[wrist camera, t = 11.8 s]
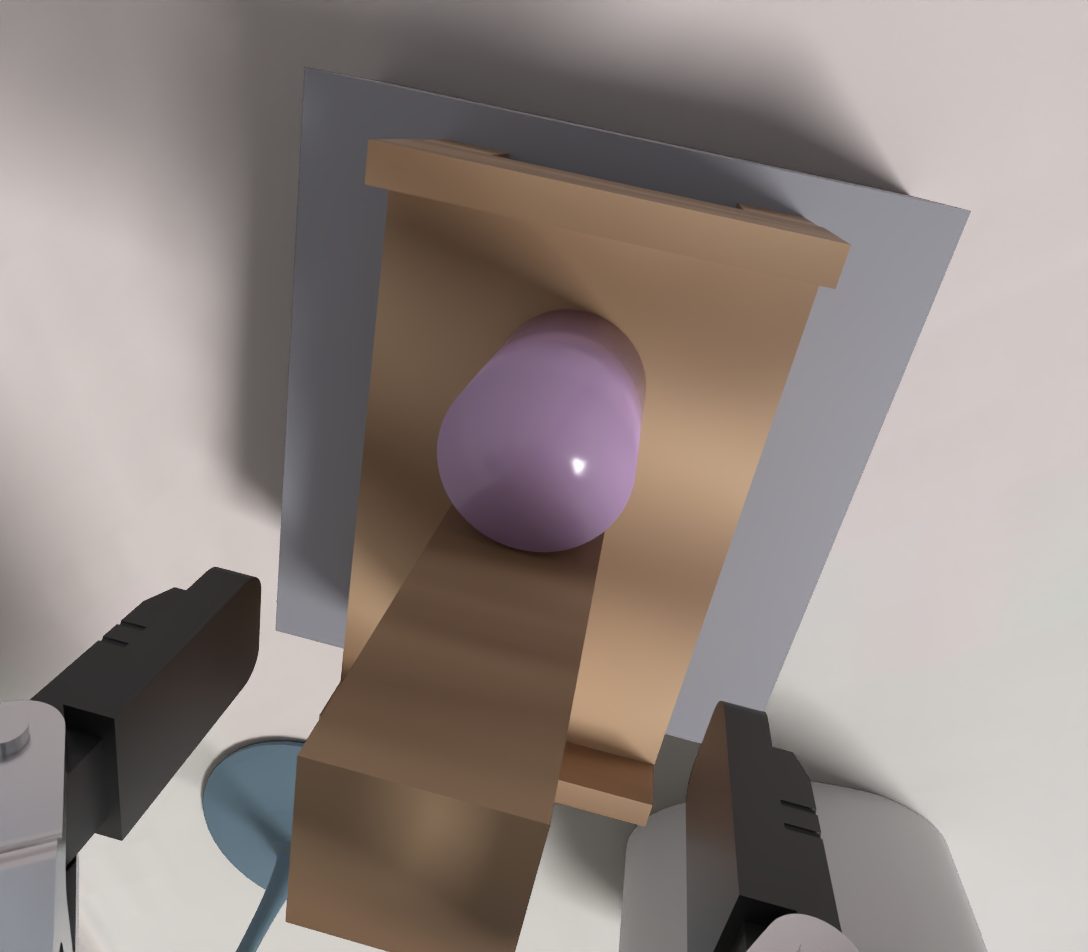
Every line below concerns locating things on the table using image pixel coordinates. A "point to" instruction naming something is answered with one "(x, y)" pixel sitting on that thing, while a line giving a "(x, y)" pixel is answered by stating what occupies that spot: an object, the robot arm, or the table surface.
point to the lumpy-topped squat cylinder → (855, 869)
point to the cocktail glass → (256, 822)
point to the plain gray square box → (840, 207)
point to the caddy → (523, 576)
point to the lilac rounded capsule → (547, 434)
